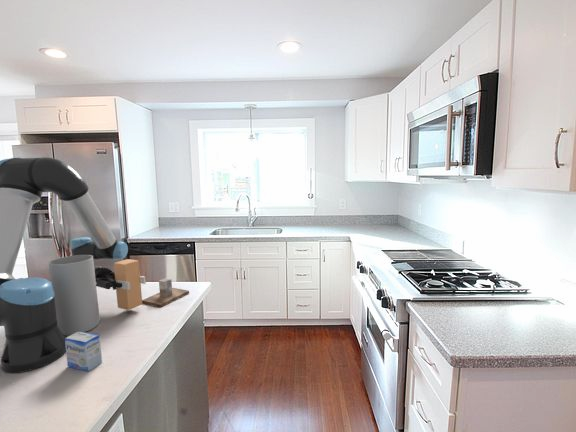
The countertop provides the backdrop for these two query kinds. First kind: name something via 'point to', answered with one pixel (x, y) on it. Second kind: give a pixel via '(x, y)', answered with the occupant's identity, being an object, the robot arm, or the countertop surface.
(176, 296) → the post board
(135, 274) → the tall wooden block
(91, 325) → the cylinder vase
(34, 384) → the countertop surface
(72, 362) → the medicine box
